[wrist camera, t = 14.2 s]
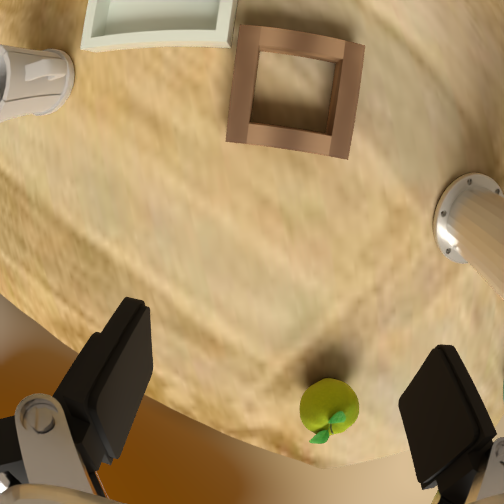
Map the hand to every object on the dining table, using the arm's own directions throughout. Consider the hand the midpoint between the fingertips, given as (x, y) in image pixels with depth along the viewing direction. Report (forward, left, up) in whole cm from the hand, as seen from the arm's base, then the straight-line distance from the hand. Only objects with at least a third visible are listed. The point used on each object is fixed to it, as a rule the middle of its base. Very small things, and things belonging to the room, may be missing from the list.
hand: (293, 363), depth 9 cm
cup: (+29, -11, -27) cm, 41 cm away
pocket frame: (-1, -9, -27) cm, 29 cm away
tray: (+14, -21, -27) cm, 37 cm away
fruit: (-14, +33, -27) cm, 45 cm away
